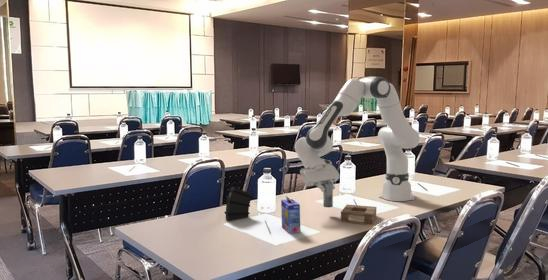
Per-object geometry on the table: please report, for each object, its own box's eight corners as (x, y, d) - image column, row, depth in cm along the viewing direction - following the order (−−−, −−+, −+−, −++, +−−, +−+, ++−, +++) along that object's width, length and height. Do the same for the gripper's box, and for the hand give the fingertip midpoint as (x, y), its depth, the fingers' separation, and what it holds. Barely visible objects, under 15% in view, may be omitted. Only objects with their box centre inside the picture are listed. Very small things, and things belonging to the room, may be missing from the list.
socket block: (346, 213, 218) (346, 204, 217) (376, 216, 213) (376, 206, 212) (340, 221, 204) (340, 212, 204) (372, 224, 199) (372, 215, 199)
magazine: (218, 216, 208) (230, 186, 210) (241, 224, 215) (253, 194, 217) (222, 218, 205) (234, 187, 207) (245, 226, 212) (257, 196, 213)
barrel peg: (324, 204, 217) (324, 182, 216) (333, 205, 216) (333, 182, 214) (322, 207, 213) (322, 184, 212) (331, 207, 212) (331, 184, 210)
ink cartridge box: (280, 226, 198) (280, 194, 196) (292, 225, 199) (292, 193, 198) (288, 233, 188) (288, 199, 187) (300, 232, 190) (300, 198, 188)
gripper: (301, 165, 211) (315, 189, 205) (333, 160, 223) (347, 183, 217) (295, 173, 215) (309, 197, 209) (326, 168, 227) (340, 190, 221)
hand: (329, 190), depth 213 cm, fingers closed on barrel peg, 4 cm apart
